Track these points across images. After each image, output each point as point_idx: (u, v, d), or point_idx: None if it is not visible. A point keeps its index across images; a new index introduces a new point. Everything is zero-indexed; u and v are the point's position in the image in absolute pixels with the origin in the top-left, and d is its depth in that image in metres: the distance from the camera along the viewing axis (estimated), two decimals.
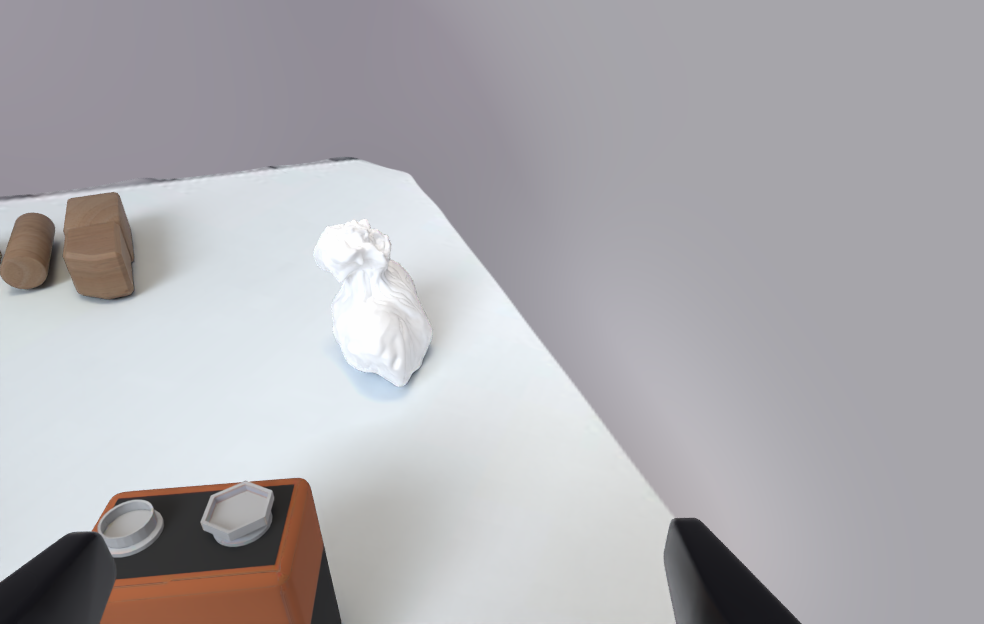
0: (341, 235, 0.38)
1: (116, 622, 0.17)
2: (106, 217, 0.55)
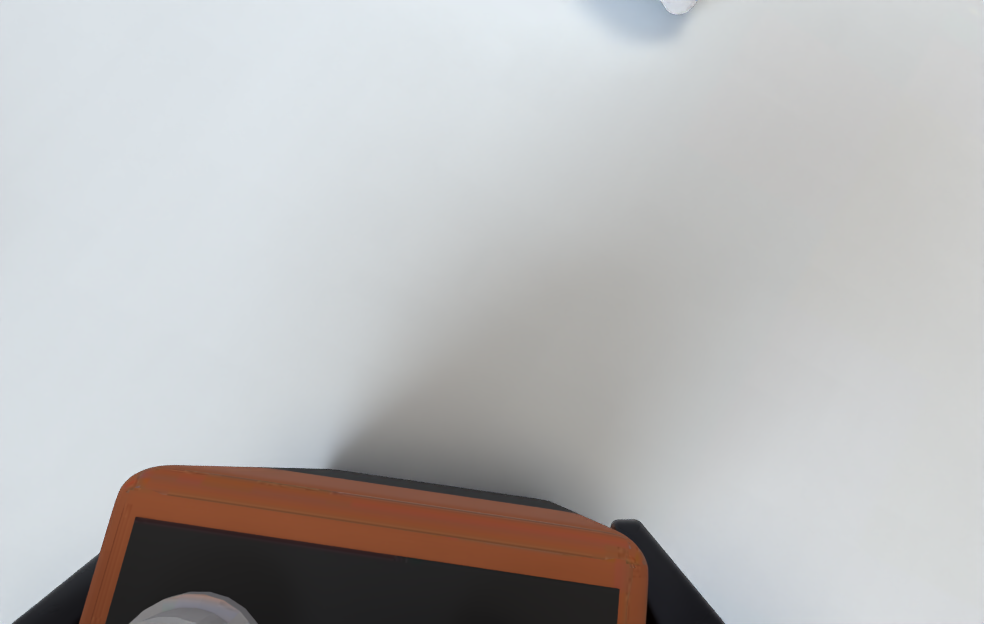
0: None
1: None
2: None
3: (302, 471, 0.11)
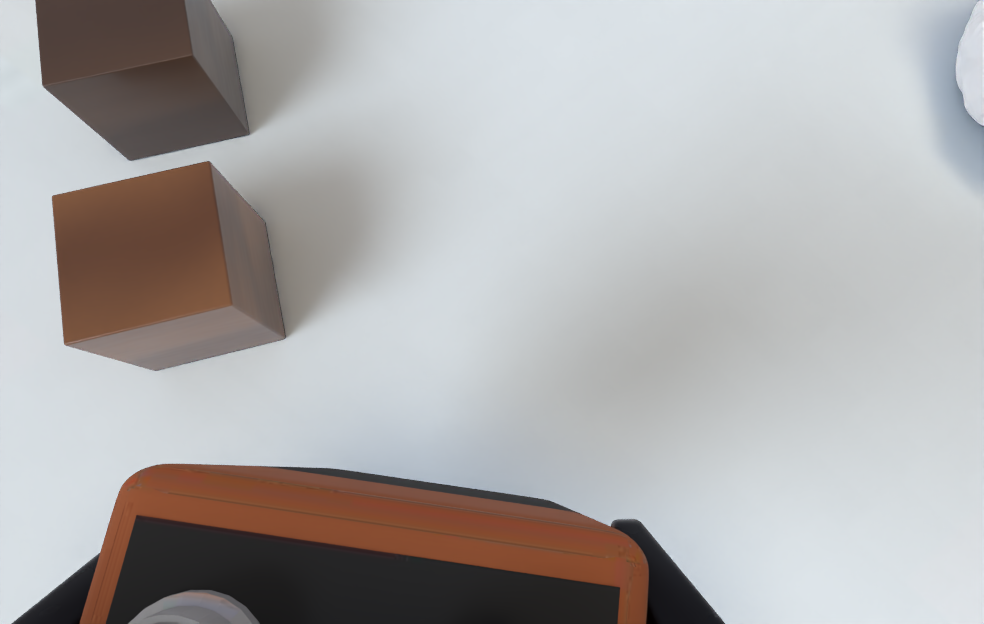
0: None
1: None
2: None
3: (303, 470, 0.11)
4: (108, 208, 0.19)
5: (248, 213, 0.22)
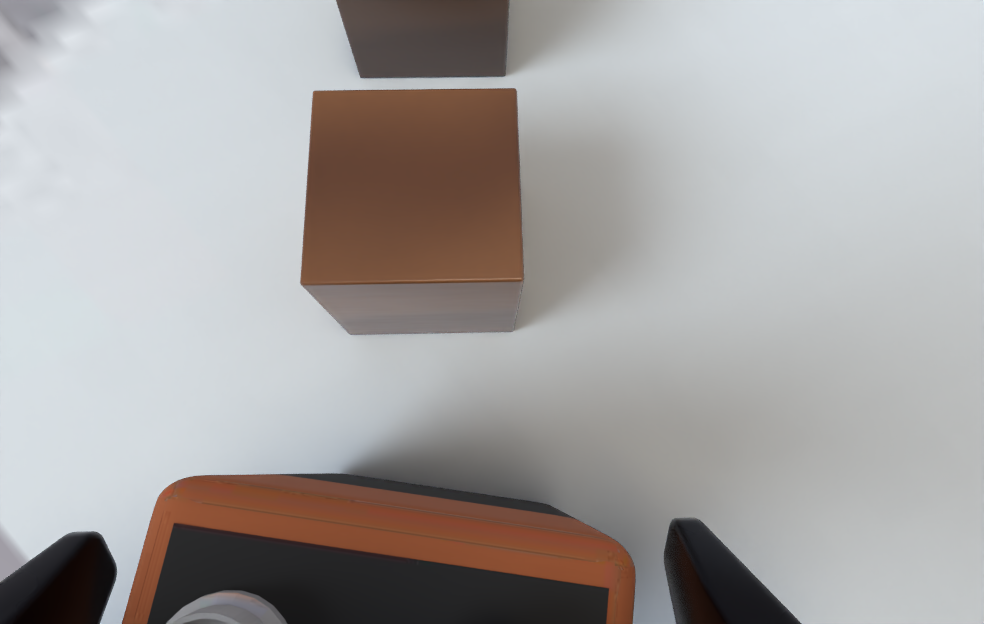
0: None
1: None
2: None
3: (316, 478, 0.12)
4: (381, 121, 0.14)
5: None
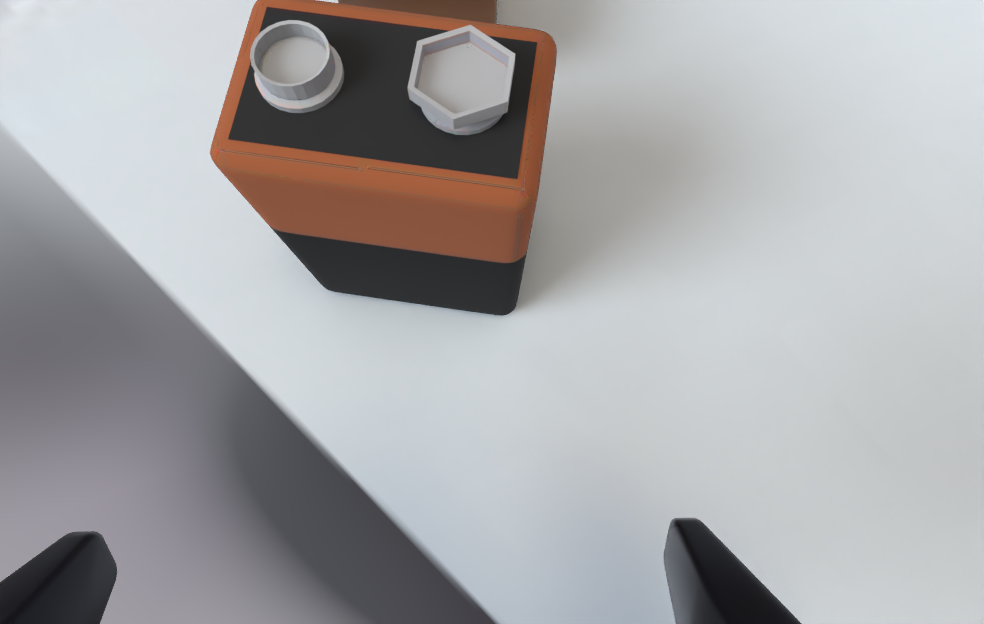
0: None
1: (296, 198, 0.13)
2: None
3: None
4: None
5: None
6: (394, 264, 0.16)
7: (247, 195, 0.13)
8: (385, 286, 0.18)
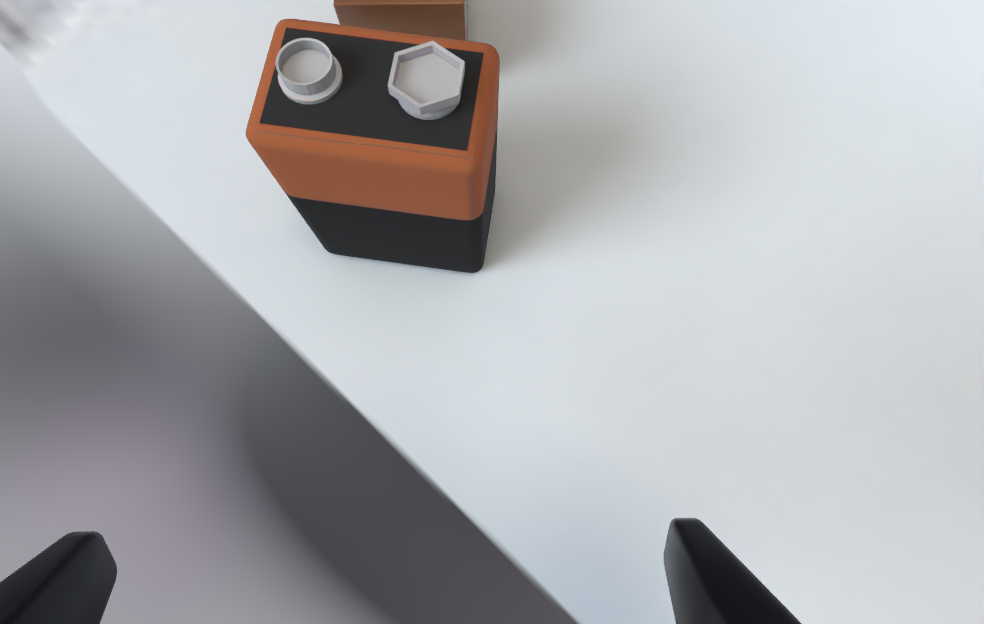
0: None
1: (308, 168, 0.17)
2: None
3: None
4: None
5: None
6: (382, 224, 0.21)
7: (271, 166, 0.18)
8: (376, 246, 0.23)
